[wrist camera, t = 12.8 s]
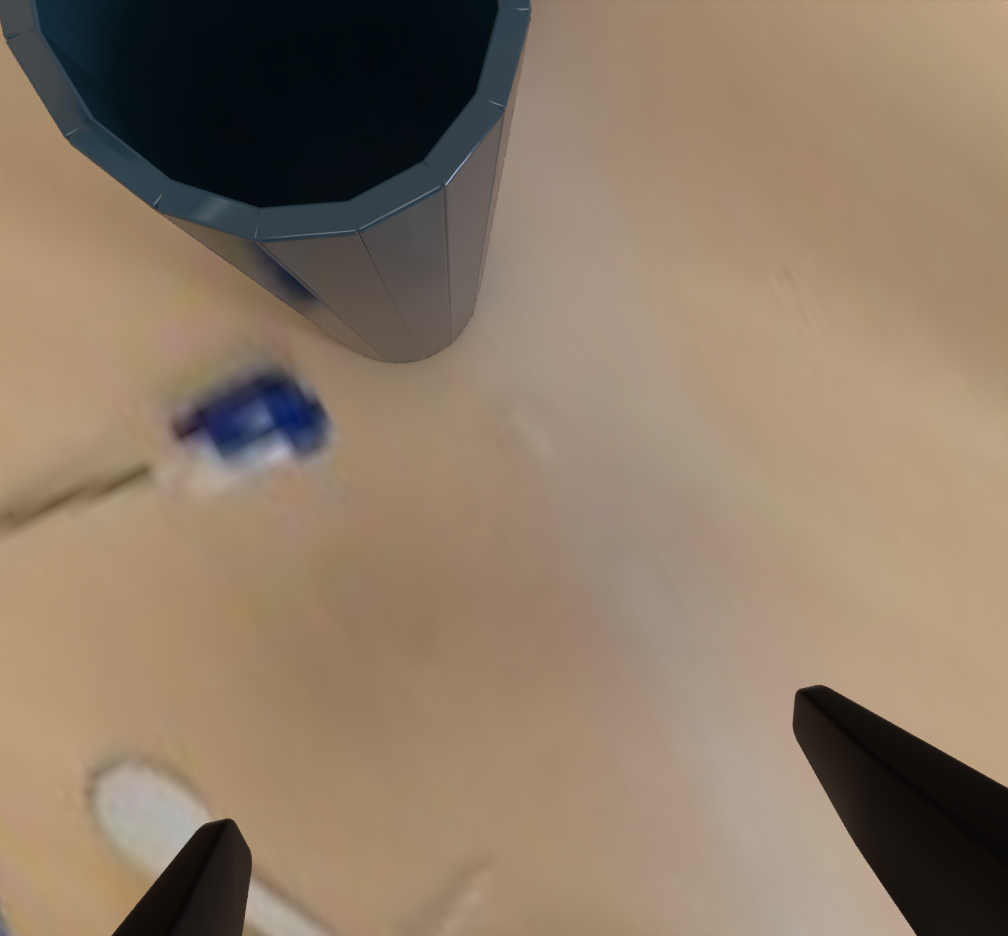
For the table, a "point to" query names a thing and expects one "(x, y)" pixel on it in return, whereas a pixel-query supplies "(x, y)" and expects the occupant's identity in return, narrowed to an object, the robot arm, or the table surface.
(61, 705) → the table surface
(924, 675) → the table surface
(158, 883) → the robot arm
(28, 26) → the pencil cup
